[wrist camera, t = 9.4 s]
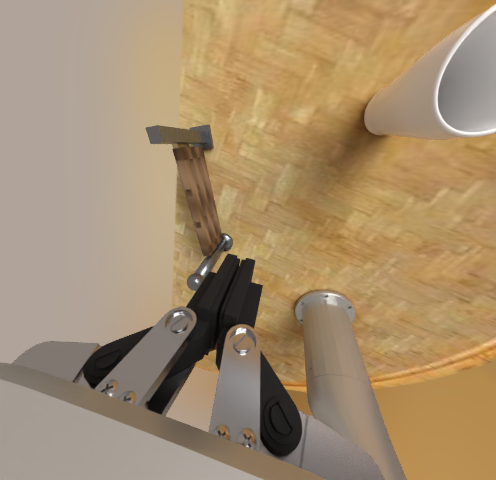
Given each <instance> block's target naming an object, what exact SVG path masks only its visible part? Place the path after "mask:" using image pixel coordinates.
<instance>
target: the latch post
mask: <svg viewBox="0 0 496 480" xmlns="http://www.w3.org/2000/svg"><path fill="white" fill-rule="evenodd" d="M146 131H147V133H148V137H149V140H150V143H151V144H172V145H173V149H175V148H181V147H189V144H194V147H203V149H209V148H214V146H213V140H212V135H211V129H210V125H204V126H198V127H192V128H190V130H187V129H180V128H173V127H165V126H158V125H157V126H152V127H147V128H146Z"/></svg>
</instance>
